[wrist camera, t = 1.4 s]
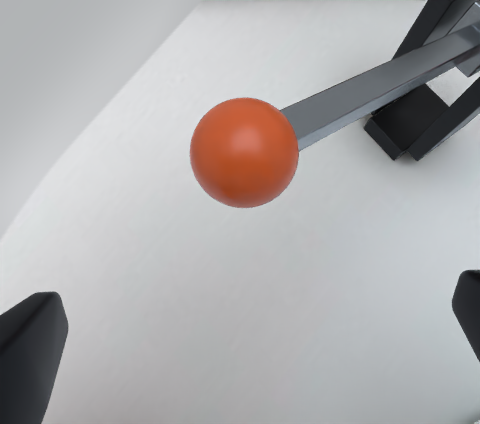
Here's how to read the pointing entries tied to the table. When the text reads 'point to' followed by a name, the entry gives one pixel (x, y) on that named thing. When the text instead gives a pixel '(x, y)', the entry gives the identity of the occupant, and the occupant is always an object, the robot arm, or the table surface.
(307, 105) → the switch
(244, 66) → the table surface
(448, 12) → the switch bracket
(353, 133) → the table surface
